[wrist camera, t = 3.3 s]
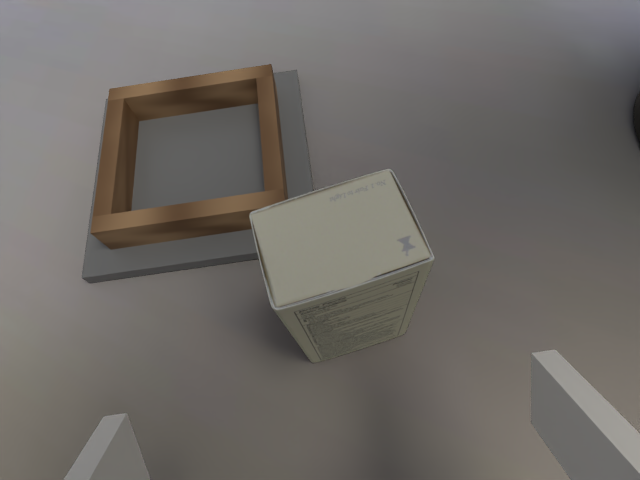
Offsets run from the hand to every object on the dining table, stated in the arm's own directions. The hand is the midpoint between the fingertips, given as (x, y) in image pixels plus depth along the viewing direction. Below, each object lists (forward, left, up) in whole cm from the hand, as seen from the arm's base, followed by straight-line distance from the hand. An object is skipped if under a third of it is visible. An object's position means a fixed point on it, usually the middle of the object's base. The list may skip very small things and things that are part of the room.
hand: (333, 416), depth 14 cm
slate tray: (+8, -19, -11) cm, 24 cm away
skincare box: (-1, -6, -11) cm, 13 cm away
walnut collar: (+8, -19, -11) cm, 24 cm away
